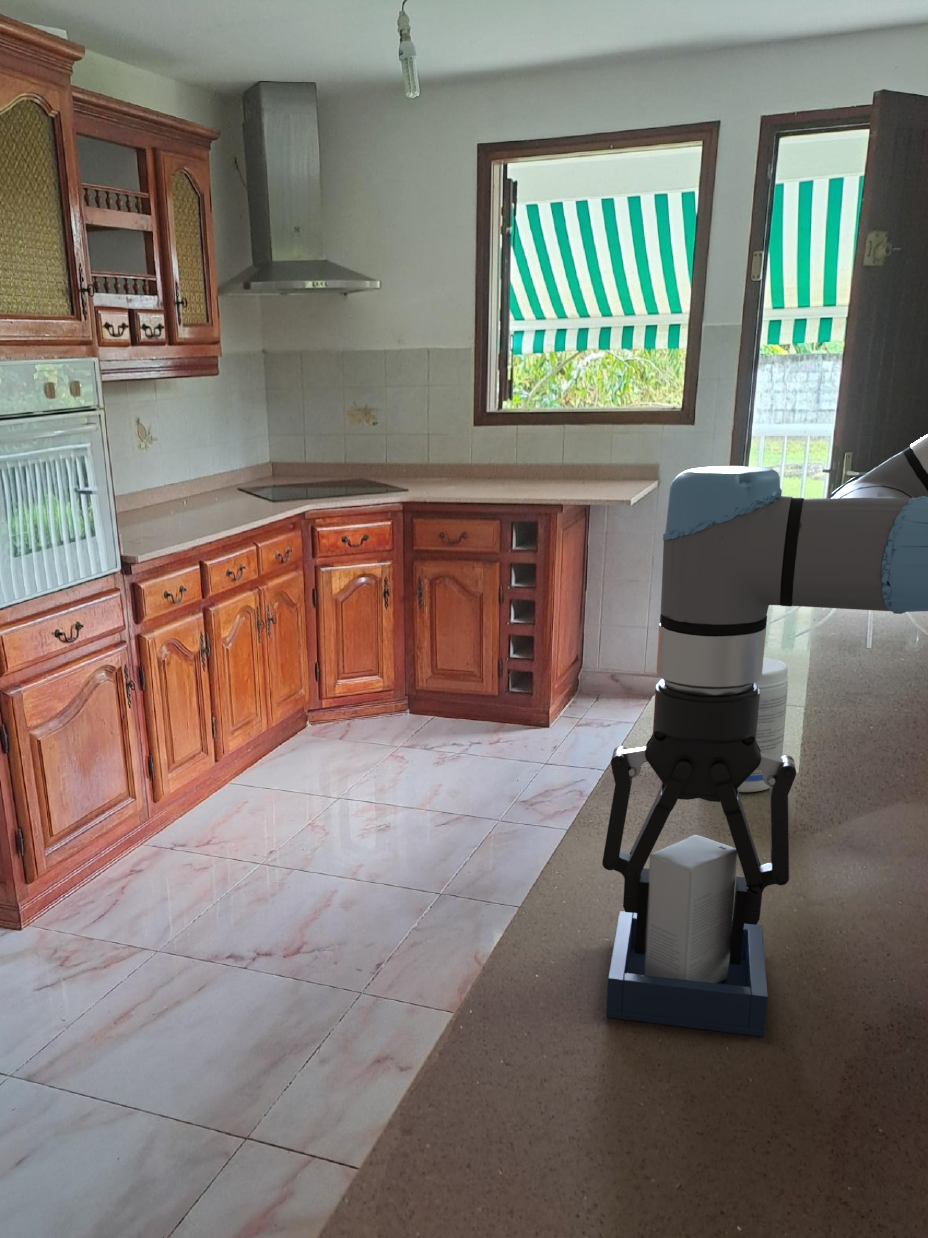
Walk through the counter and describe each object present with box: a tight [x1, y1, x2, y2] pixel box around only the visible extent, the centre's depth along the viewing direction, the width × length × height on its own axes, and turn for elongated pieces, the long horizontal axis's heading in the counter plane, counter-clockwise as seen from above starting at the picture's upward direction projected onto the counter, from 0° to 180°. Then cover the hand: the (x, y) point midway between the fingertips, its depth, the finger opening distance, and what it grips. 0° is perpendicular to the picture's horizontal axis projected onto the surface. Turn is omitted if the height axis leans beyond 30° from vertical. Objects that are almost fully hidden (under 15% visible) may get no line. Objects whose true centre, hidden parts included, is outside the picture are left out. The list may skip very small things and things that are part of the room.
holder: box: [605, 910, 769, 1038], centre depth 92 cm, size 12×12×4 cm
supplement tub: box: [738, 657, 789, 793], centre depth 134 cm, size 10×10×15 cm
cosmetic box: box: [644, 834, 738, 983], centre depth 91 cm, size 6×4×12 cm
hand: (687, 950), depth 92 cm, fingers closed on cosmetic box, 7 cm apart
